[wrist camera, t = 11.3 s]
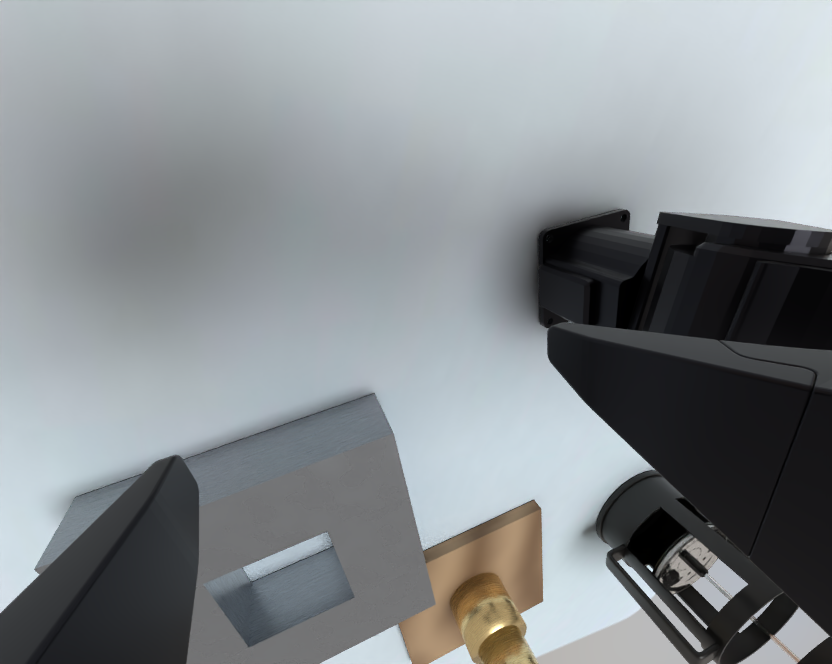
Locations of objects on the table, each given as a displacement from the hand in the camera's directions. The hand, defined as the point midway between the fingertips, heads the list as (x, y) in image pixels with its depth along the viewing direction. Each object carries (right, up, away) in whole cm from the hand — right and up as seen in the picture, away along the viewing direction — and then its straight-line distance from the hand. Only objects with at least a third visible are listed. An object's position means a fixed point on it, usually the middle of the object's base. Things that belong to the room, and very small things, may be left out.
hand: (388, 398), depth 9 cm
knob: (+6, -22, +25) cm, 33 cm away
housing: (-8, -12, +16) cm, 21 cm away
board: (+6, -21, +25) cm, 34 cm away
